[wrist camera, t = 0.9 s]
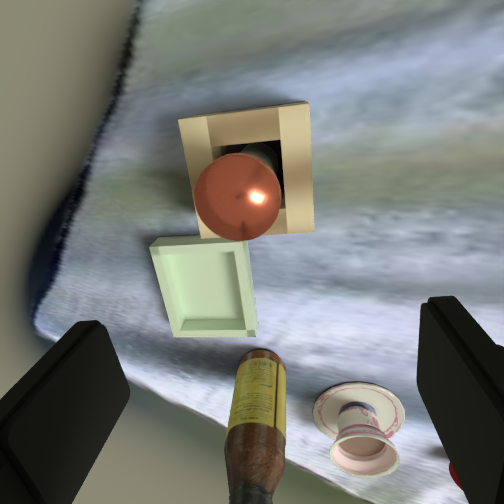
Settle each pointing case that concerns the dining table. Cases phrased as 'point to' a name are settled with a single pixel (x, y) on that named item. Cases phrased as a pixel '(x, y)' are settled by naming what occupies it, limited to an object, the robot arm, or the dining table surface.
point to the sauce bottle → (256, 429)
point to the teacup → (360, 428)
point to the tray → (206, 286)
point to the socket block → (257, 130)
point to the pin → (240, 193)
